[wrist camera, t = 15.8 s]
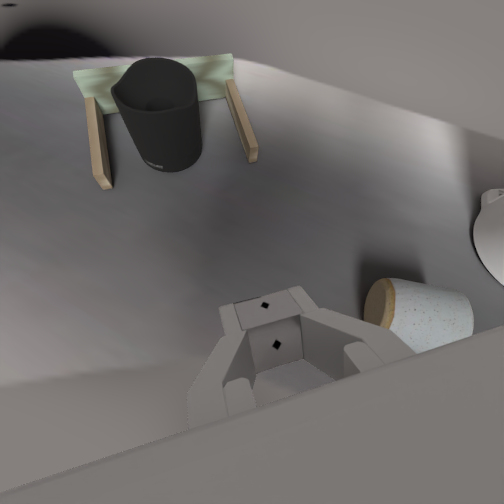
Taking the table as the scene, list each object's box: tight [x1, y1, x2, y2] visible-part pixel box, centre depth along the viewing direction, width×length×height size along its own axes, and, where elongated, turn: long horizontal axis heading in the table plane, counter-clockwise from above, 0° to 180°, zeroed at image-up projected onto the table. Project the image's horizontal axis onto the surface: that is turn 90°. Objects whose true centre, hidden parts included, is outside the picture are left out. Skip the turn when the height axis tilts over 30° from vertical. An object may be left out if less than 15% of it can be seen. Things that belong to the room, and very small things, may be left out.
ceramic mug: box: [364, 278, 474, 354], centre depth 29 cm, size 11×8×8 cm
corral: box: [73, 54, 259, 190], centre depth 39 cm, size 21×15×6 cm
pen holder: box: [111, 58, 202, 172], centre depth 36 cm, size 9×9×10 cm
